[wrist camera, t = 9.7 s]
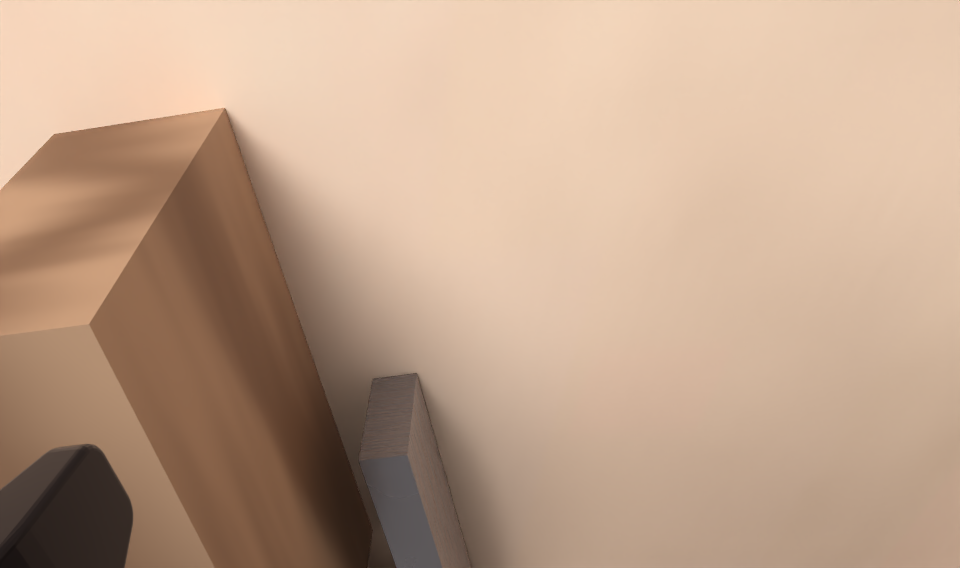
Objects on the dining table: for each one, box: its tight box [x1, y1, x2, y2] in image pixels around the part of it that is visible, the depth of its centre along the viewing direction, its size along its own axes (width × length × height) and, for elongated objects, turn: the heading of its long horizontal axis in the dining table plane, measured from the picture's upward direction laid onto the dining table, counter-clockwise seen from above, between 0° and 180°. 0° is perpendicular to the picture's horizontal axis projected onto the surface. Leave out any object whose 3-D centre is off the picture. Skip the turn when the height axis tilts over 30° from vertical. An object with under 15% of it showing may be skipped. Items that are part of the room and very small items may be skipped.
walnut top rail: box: [0, 108, 373, 568], centre depth 20 cm, size 4×14×8 cm, turn 9°
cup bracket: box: [358, 373, 472, 568], centre depth 25 cm, size 9×9×3 cm
